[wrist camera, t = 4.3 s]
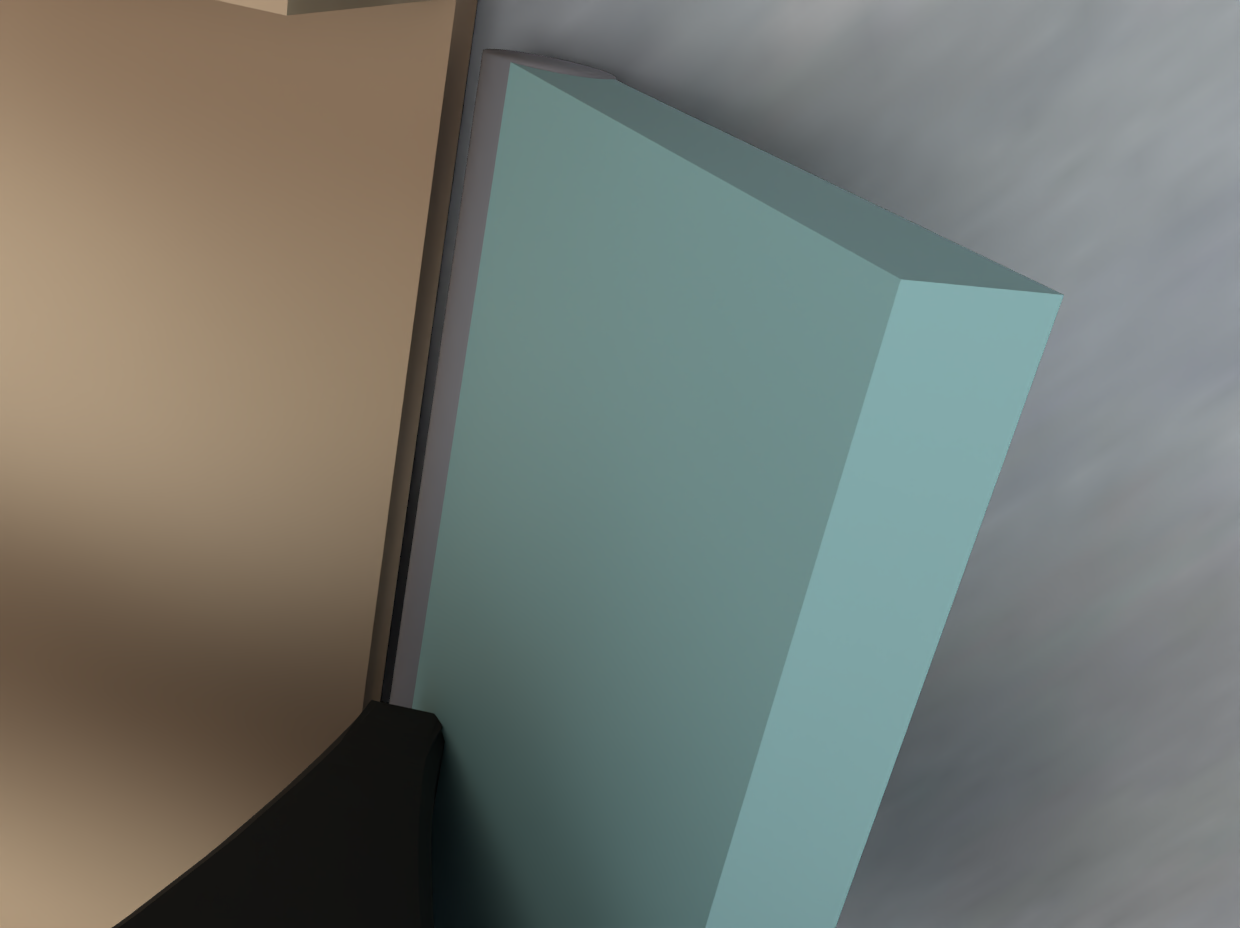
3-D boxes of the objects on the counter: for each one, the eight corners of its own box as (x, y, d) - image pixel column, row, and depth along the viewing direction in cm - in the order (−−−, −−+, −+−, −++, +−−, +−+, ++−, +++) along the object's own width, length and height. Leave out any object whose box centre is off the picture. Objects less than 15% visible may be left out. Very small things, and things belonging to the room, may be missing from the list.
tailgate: (410, 1059, 14) (574, 1680, 9) (324, 1076, 13) (449, 1736, 9) (588, 63, 9) (1084, 296, 5) (466, 43, 9) (876, 278, 4)
